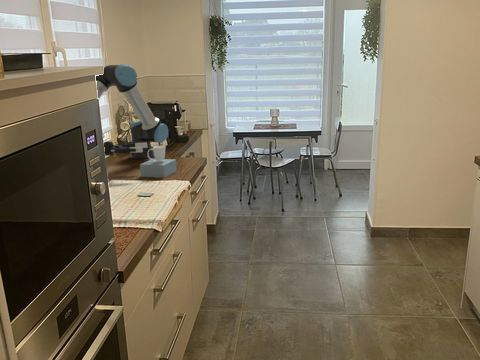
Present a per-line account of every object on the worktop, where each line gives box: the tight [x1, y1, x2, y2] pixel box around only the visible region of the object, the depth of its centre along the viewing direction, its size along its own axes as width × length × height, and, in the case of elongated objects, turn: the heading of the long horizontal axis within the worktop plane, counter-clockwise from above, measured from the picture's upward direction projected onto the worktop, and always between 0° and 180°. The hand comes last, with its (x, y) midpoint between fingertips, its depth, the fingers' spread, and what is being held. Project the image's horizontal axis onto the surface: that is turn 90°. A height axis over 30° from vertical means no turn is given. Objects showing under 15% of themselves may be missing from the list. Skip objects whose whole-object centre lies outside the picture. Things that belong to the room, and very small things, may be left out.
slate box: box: [139, 158, 178, 179], centre depth 245 cm, size 15×14×7 cm
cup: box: [147, 145, 166, 162], centre depth 244 cm, size 7×10×8 cm
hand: (144, 147), depth 243 cm, fingers open, 13 cm apart
